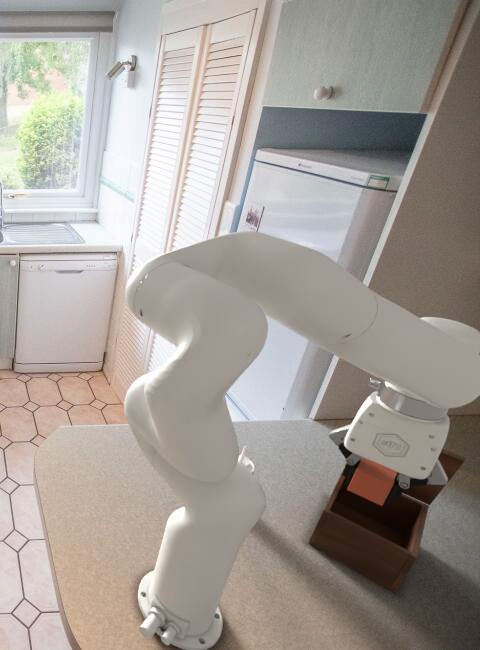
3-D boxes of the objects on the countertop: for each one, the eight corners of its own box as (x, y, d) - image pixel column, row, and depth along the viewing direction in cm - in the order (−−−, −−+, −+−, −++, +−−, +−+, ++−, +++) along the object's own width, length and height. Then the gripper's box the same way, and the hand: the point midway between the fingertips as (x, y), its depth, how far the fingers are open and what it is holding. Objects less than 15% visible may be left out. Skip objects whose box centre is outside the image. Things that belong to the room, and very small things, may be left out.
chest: (395, 592, 76) (417, 558, 73) (307, 543, 85) (323, 509, 81) (409, 538, 86) (429, 505, 82) (329, 499, 94) (344, 467, 91)
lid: (465, 461, 71) (473, 436, 73) (364, 422, 80) (375, 401, 82) (429, 505, 82) (438, 482, 84) (344, 467, 90) (354, 446, 92)
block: (382, 506, 72) (393, 485, 70) (346, 489, 75) (356, 469, 73) (387, 491, 74) (398, 470, 72) (353, 475, 77) (362, 455, 75)
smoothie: (247, 512, 91) (266, 459, 85) (213, 507, 93) (230, 454, 87) (236, 488, 97) (254, 436, 91) (204, 483, 98) (220, 432, 92)
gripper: (336, 384, 70) (300, 473, 78) (495, 440, 59) (434, 536, 66) (347, 367, 75) (313, 451, 82) (497, 414, 63) (440, 508, 71)
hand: (368, 488), depth 74 cm, fingers closed on block, 4 cm apart
